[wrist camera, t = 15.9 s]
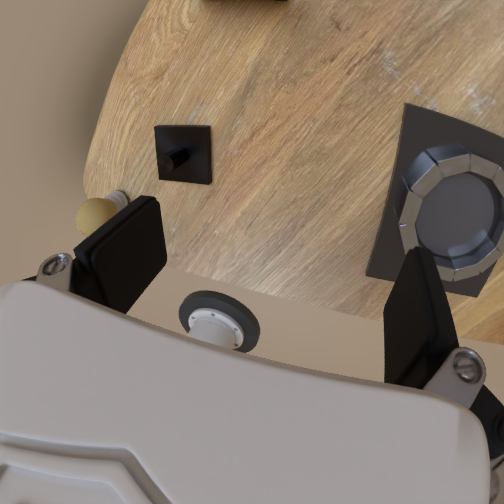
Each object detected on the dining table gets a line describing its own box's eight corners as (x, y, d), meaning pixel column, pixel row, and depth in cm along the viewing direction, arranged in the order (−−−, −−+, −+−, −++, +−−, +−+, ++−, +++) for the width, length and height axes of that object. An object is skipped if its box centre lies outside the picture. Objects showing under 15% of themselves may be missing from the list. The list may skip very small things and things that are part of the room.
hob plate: (475, 293, 35) (477, 298, 34) (365, 271, 40) (365, 276, 39) (532, 152, 21) (536, 154, 20) (404, 102, 26) (406, 103, 25)
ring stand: (211, 182, 39) (195, 197, 35) (162, 177, 41) (143, 190, 37) (210, 125, 34) (191, 133, 30) (158, 125, 36) (136, 133, 32)
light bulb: (103, 193, 46) (64, 221, 38) (120, 175, 43) (78, 202, 35) (123, 221, 48) (87, 252, 40) (142, 205, 45) (103, 237, 37)
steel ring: (416, 131, 26) (421, 136, 24) (523, 174, 23) (533, 182, 21) (382, 255, 36) (383, 266, 34) (479, 278, 33) (484, 289, 31)
